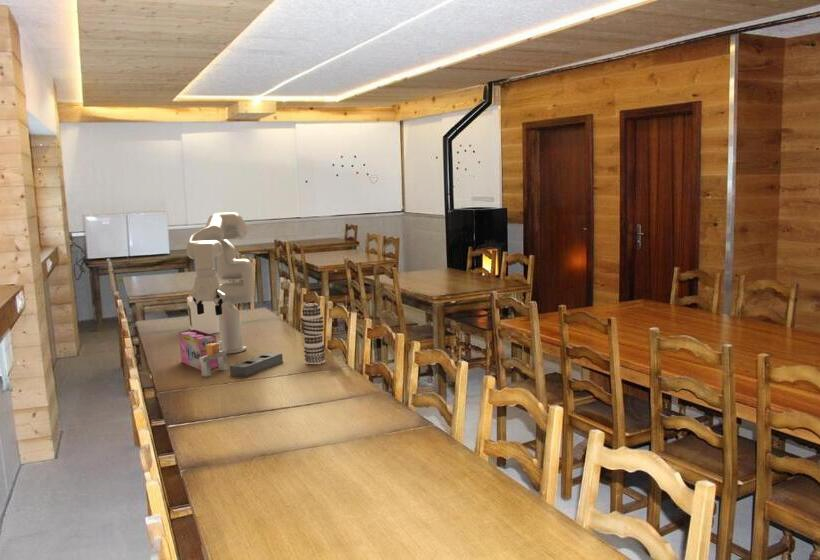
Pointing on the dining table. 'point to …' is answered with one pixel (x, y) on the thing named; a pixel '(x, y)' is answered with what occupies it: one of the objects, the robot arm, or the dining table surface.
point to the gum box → (196, 348)
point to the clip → (213, 354)
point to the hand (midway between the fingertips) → (209, 314)
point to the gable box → (202, 316)
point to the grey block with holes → (256, 364)
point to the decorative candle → (313, 333)
